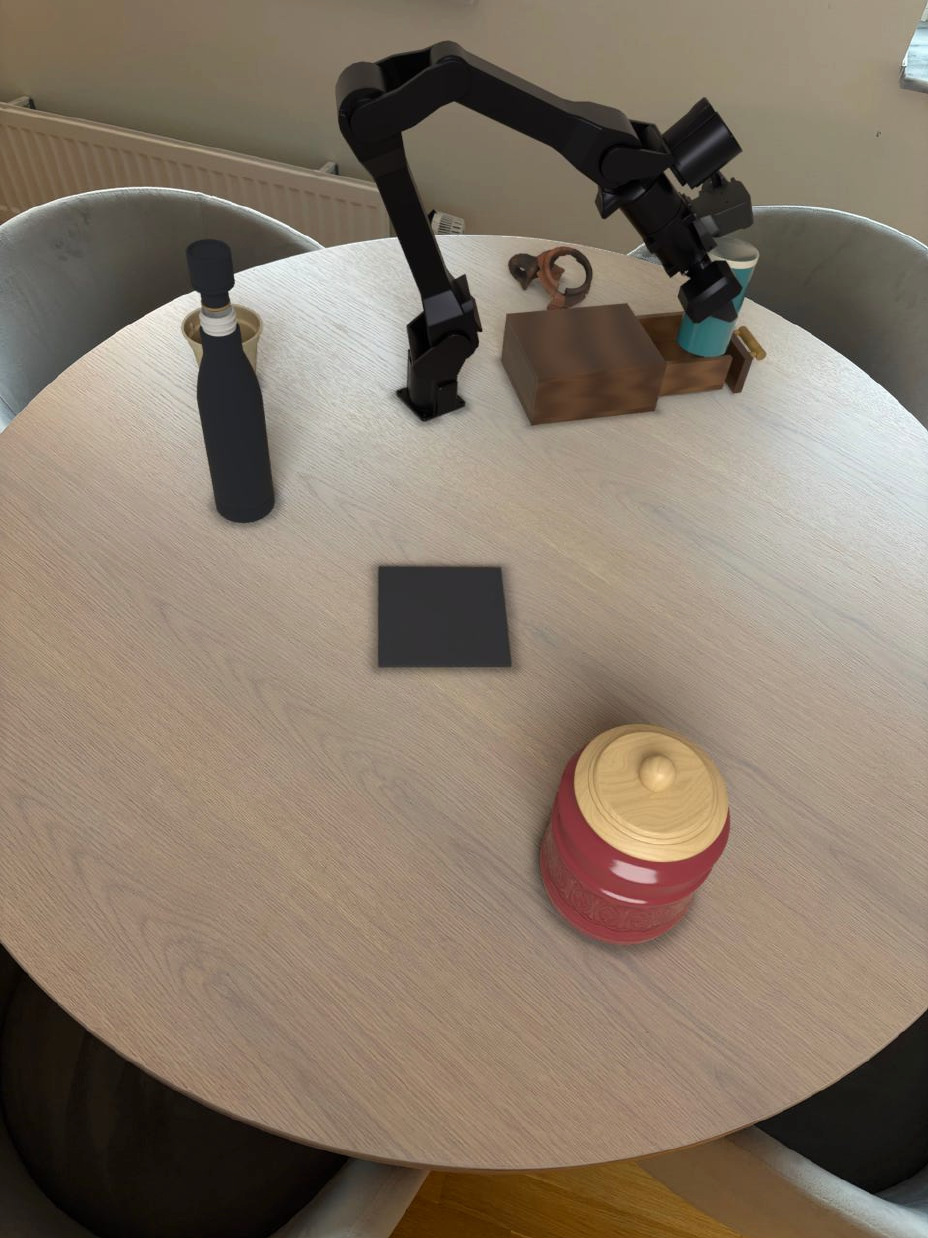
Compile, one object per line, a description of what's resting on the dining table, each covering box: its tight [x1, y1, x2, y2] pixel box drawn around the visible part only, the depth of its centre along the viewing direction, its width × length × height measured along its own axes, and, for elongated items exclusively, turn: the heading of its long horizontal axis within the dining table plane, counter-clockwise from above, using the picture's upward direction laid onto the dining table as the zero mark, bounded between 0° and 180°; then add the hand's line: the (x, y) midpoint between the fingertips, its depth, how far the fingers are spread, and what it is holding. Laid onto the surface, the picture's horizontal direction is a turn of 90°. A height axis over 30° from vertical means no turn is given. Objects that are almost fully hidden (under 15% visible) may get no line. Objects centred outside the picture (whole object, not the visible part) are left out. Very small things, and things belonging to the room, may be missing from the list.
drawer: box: [635, 310, 767, 397], centre depth 124 cm, size 20×12×5 cm, turn 105°
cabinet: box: [500, 302, 667, 426], centre depth 121 cm, size 17×14×7 cm
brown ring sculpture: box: [507, 245, 594, 310], centre depth 134 cm, size 12×10×8 cm
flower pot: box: [180, 302, 264, 375], centre depth 115 cm, size 9×9×9 cm
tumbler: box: [676, 236, 760, 357], centre depth 113 cm, size 6×6×12 cm
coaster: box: [377, 566, 512, 668], centre depth 97 cm, size 13×13×1 cm
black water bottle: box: [184, 238, 276, 524], centre depth 94 cm, size 6×6×30 cm
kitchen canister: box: [539, 723, 731, 946], centre depth 73 cm, size 13×13×18 cm
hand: (725, 303), depth 114 cm, fingers closed on tumbler, 6 cm apart
